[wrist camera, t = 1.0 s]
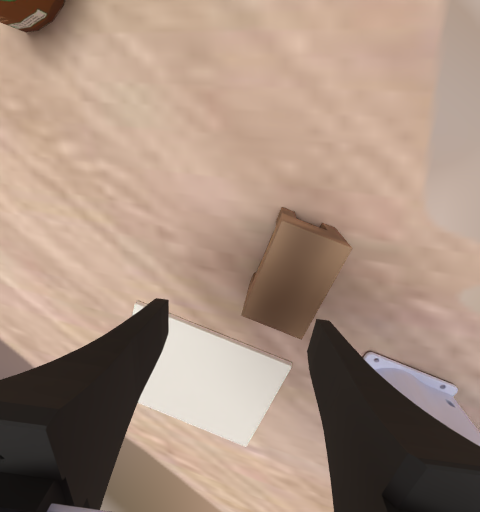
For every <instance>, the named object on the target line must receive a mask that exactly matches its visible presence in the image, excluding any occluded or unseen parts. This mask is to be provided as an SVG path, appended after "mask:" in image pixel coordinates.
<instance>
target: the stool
mask: <svg viewBox="0 0 480 512" xmlns="http://www.w3.org/2000/svg"><path fill="white" fill-rule="evenodd" d="M351 250H352V247H351V246H350V245H349V244H348V242H347V241H346V240H345V239H344V238H343V237H342V235H341V234H340V233H339V232H338V231H337V229H336V228H334V227H332V226H329V225H327V224H324V223H322V224H321V226H320V228H319V227H317V226H314V225H312V224H309V223H307V222H304V221H301V220H299V219H296V215H295V212H293V211H291V210H288V209H286V208H283V207H282V208H281V210H280V213H279V215H278V217H277V221H276V228H275V230H274V233H273V235H272V238H271V240H270V242H269V245H268V247H267V249H266V252H265V254H264V256H263V259H262V261H261V263H260V266H259V268H258V270H257V273H254V274H253V277H252V279H251V281H250V284H249V288H248V292H247V296H246V300H245V303H244V307H243V311H242V316H244V317H247V318H249V319H252V320H254V321H257V322H259V323H262V324H264V325H267V326H269V327H272V328H274V329H277V330H279V331H282V332H284V333H287V334H289V335H292V336H294V337H297V338H299V339H302V338H303V336H304V334H305V332H306V331H307V329H308V327H309V325H310V323H311V322H312V320H313V318H314V316H315V314H316V313H317V311H318V309H319V307H320V305H321V304H322V302H323V300H324V298H325V296H326V295H327V293H328V291H329V289H330V287H331V286H332V284H333V282H334V280H335V279H336V277H337V275H338V273H339V271H340V270H341V268H342V266H343V264H344V262H345V261H346V259H347V257H348V255H349V253H350V252H351Z"/></svg>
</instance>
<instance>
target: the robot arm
mask: <svg viewBox="0 0 480 512" xmlns="http://www.w3.org/2000/svg"><path fill="white" fill-rule="evenodd" d="M168 333H169V311H168V300H165V299H157V298H156V299H154V300H153V301H152V302H150V303H149V304H148V305H146V306H145V307H144V308H142V309H141V310H140V311H138V312H137V313H136V314H134V315H133V316H132V317H130V318H129V319H128V320H126V321H125V322H123V323H122V324H120V325H119V326H117V327H116V328H114V329H113V330H111V331H110V332H108V333H107V334H105V335H103V336H102V337H100V338H98V339H97V340H95V341H93V342H91V343H89V344H87V345H86V346H84V347H82V348H80V349H78V350H75V351H73V352H71V353H69V354H67V355H65V356H63V357H61V358H58V359H56V360H54V361H51V362H49V363H47V364H44V365H42V366H39V367H36V368H34V369H31V370H29V371H26V372H23V373H20V374H17V375H14V376H11V377H8V378H5V379H2V380H0V512H110V511H103V510H100V507H101V505H102V501H103V498H104V495H105V492H106V489H107V486H108V483H109V480H110V477H111V474H112V471H113V468H114V465H115V462H116V460H117V456H118V454H119V451H120V448H121V445H122V442H123V439H124V437H125V434H126V432H127V429H128V426H129V423H130V421H131V418H132V416H133V413H134V410H135V408H136V405H137V403H138V401H139V398H140V396H141V394H142V392H143V390H144V388H145V386H146V384H147V382H148V380H149V378H150V376H151V374H152V372H153V370H154V368H155V366H156V364H157V361H158V359H159V357H160V355H161V353H162V351H163V348H164V345H165V342H166V339H167V336H168ZM307 353H308V363H309V370H310V375H311V379H312V383H313V388H314V392H315V395H316V399H317V403H318V407H319V411H320V415H321V420H322V424H323V429H324V436H325V442H326V449H327V456H328V463H329V471H330V478H331V487H332V496H333V505H334V512H480V432H479V431H478V430H477V428H476V427H475V426H474V424H473V423H472V422H471V420H470V419H469V417H468V416H467V415H466V413H465V412H464V411H463V409H462V408H461V407H460V405H459V404H458V403H457V401H456V400H455V399H454V397H453V396H454V395H455V394H456V393H457V391H458V389H457V387H456V386H455V385H453V384H451V383H448V382H446V381H443V380H441V379H438V378H436V377H433V376H431V375H428V374H426V373H423V372H421V371H418V370H416V369H413V368H411V367H408V366H406V365H403V364H401V363H398V362H396V361H393V360H391V359H388V358H386V357H383V356H381V355H378V354H376V353H373V352H368V353H367V354H366V355H365V356H364V358H362V357H361V356H360V355H359V353H358V352H357V351H356V350H355V349H354V348H353V347H352V346H351V345H350V344H349V343H348V341H347V340H346V339H345V338H344V337H343V336H342V335H341V333H340V332H339V331H338V330H337V329H336V328H335V327H334V325H333V324H332V323H331V322H330V321H327V320H319V319H316V323H315V326H314V330H313V333H312V337H311V340H310V344H309V347H308V350H307ZM375 358H378V359H376V360H374V359H375ZM441 385H442V386H441Z"/></svg>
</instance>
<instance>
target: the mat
mask: <svg viewBox="0 0 480 512" xmlns="http://www.w3.org/2000/svg"><path fill="white" fill-rule="evenodd" d="M146 305H147V304H145V303H142V302H140V301H137V302H136V303H135V306H134V310H133V314H132V316H133V315H134V314H136V313H137V312H138V311H140V310H141V309H142V308H144V307H145V306H146ZM291 367H292V362H289V361H287V360H284V359H282V358H279V357H277V356H274V355H272V354H269V353H267V352H264V351H262V350H259V349H257V348H254V347H252V346H249V345H247V344H244V343H242V342H239V341H237V340H234V339H232V338H229V337H227V336H225V335H222V334H220V333H217V332H215V331H212V330H210V329H207V328H205V327H202V326H200V325H197V324H195V323H192V322H190V321H187V320H185V319H182V318H180V317H177V316H175V315H172V314H170V313H169V333H168V336H167V339H166V342H165V345H164V348H163V351H162V353H161V355H160V357H159V359H158V361H157V364H156V366H155V368H154V370H153V372H152V374H151V376H150V378H149V380H148V382H147V384H146V386H145V388H144V390H143V392H142V394H141V396H140V398H139V401H138V403H139V404H142V405H144V406H147V407H149V408H152V409H154V410H157V411H159V412H161V413H164V414H166V415H169V416H171V417H174V418H176V419H179V420H181V421H183V422H186V423H188V424H191V425H193V426H196V427H198V428H200V429H203V430H205V431H208V432H210V433H213V434H215V435H218V436H220V437H222V438H225V439H227V440H230V441H232V442H235V443H237V444H240V445H242V446H244V447H247V445H248V443H249V441H250V440H251V438H252V436H253V434H254V432H255V431H256V429H257V427H258V425H259V424H260V422H261V420H262V418H263V417H264V415H265V413H266V411H267V410H268V408H269V406H270V404H271V403H272V401H273V399H274V397H275V396H276V394H277V392H278V390H279V388H280V387H281V385H282V383H283V381H284V380H285V378H286V376H287V374H288V373H289V371H290V369H291Z"/></svg>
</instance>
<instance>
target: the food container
mask: <svg viewBox="0 0 480 512" xmlns="http://www.w3.org/2000/svg"><path fill="white" fill-rule="evenodd" d="M64 2H65V0H0V22H1V23H3V24H6V25H8V26H11V27H14V28H16V29H19V30H21V31H24V32H31V31H37V30H39V29H41V28H43V27H44V26H46V25H47V24H49V23H50V22H52V21H53V20H54V18H55V17H56V16H57V14H58V13H59V11H60V10H61V8H62V7H63V5H64Z"/></svg>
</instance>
